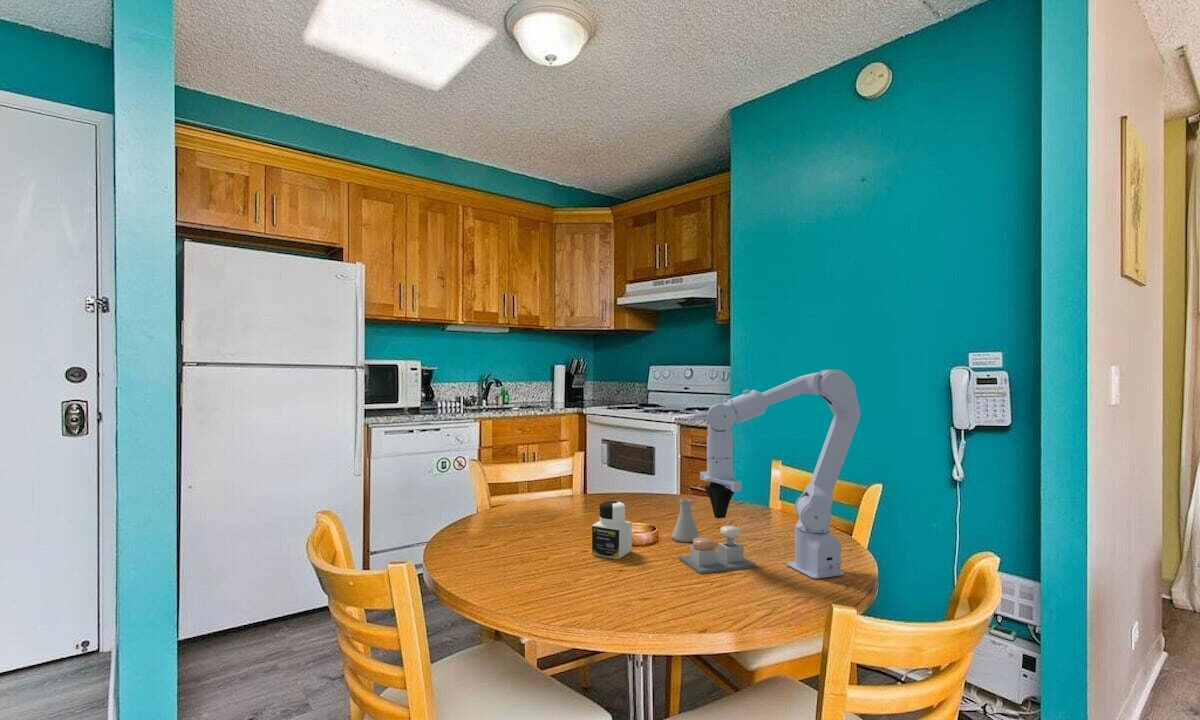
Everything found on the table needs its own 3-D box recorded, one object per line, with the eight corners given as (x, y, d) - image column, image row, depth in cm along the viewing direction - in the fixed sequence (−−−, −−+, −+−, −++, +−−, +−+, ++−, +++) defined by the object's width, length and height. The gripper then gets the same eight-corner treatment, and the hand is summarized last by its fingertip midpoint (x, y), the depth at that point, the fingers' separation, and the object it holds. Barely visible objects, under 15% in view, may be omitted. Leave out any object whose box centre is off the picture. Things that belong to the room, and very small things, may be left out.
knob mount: (756, 567, 131) (756, 549, 131) (699, 573, 127) (700, 556, 127) (731, 553, 141) (731, 537, 141) (678, 559, 136) (678, 542, 136)
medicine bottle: (591, 555, 139) (591, 503, 139) (605, 546, 145) (605, 497, 145) (618, 559, 135) (619, 507, 136) (631, 551, 142) (632, 501, 142)
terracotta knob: (716, 562, 131) (716, 542, 131) (698, 564, 130) (699, 544, 130) (706, 556, 135) (706, 536, 135) (689, 558, 134) (689, 538, 134)
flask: (698, 535, 156) (699, 497, 156) (700, 543, 148) (700, 503, 148) (670, 534, 156) (671, 496, 156) (671, 542, 149) (671, 502, 149)
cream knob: (744, 550, 134) (744, 530, 134) (726, 552, 132) (727, 531, 132) (733, 544, 138) (733, 525, 138) (716, 546, 136) (716, 526, 136)
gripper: (688, 453, 140) (688, 511, 139) (721, 463, 126) (721, 527, 126) (715, 452, 142) (715, 509, 142) (749, 461, 128) (750, 524, 128)
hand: (719, 517), depth 134 cm, fingers closed
